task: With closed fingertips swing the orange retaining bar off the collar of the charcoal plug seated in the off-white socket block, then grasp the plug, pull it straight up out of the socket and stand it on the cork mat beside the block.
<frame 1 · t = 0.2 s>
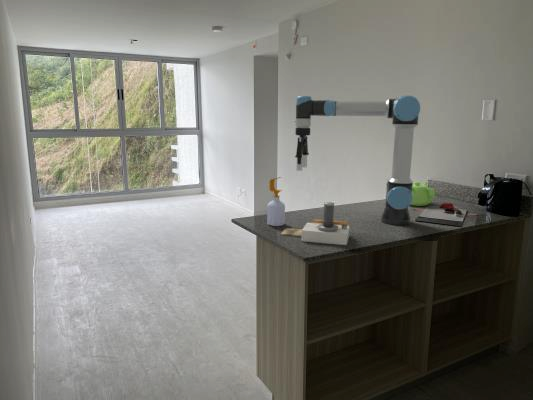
hand: (301, 168, 213), 28 cm above the worktop, fingers open, 13 cm apart
clip: (330, 222, 187), point 7 cm above the worktop, hinge at 0.0°
soap bottle: (275, 224, 212), on the worktop
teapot: (416, 204, 264), on the worktop
plug: (327, 239, 186), resting in socket block
cork mat: (293, 232, 196), on the worktop
socket block: (325, 238, 187), on the worktop
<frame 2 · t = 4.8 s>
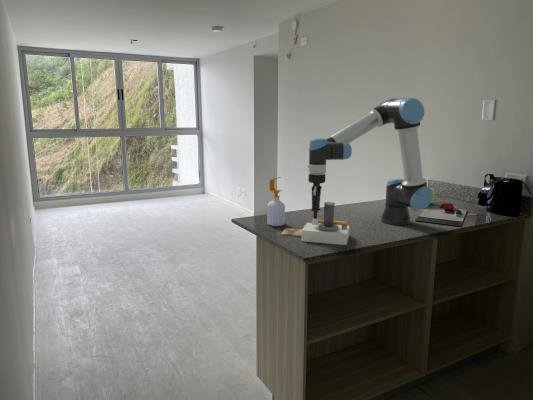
hand: (315, 224, 187), 6 cm above the worktop, fingers closed
nothing on the worktop moved.
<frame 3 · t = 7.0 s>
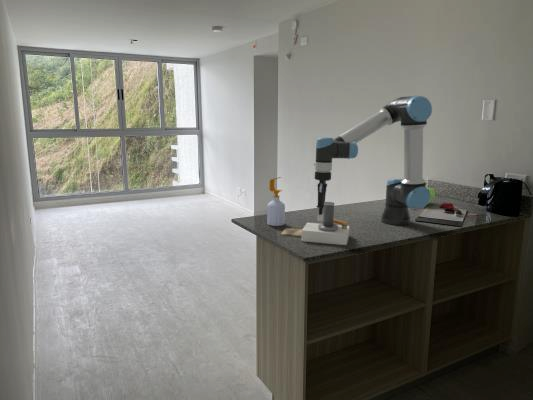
hand: (320, 220, 193), 6 cm above the worktop, fingers closed
clip: (333, 220, 190), point 7 cm above the worktop, hinge at -30.9°, touching gripper
everything else where it was.
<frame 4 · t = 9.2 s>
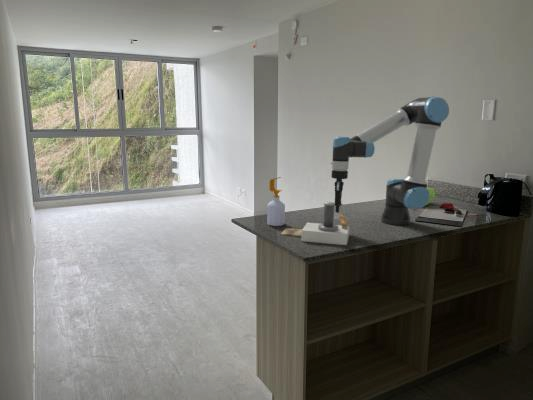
hand: (337, 218, 197), 7 cm above the worktop, fingers closed
clip: (342, 219, 192), point 7 cm above the worktop, hinge at -78.2°, touching gripper
plug: (327, 239, 186), resting in socket block
everything else where it was.
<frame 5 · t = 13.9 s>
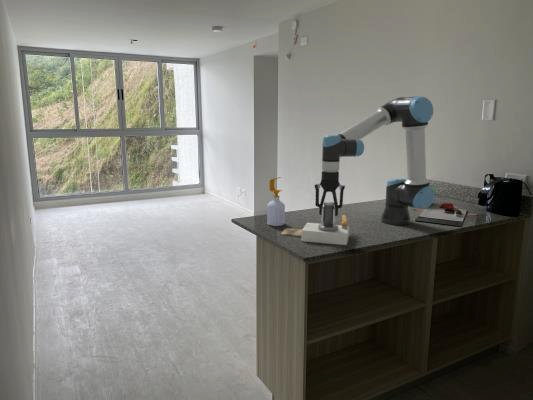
hand: (328, 222, 184), 8 cm above the worktop, fingers closed on plug, 4 cm apart
clip: (344, 220, 192), point 7 cm above the worktop, hinge at -84.0°
plug: (327, 239, 186), resting in socket block, touching gripper
everything else where it was.
when the fingers open (10 cm above the worktop, at t = 20.2 s): plug stays where it is, resting on cork mat.
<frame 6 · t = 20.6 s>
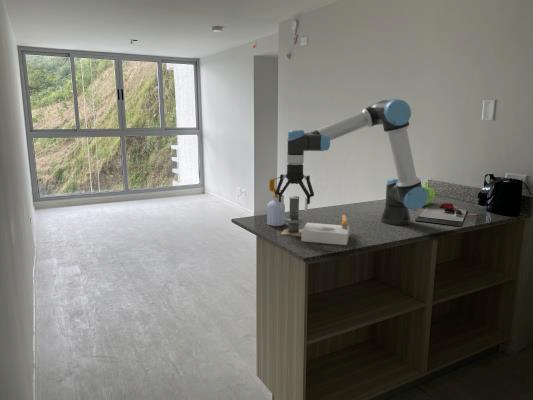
hand: (294, 210, 194), 11 cm above the worktop, fingers open, 11 cm apart
plug: (293, 231, 196), point 1 cm above the worktop, touching cork mat
everything else where it was.
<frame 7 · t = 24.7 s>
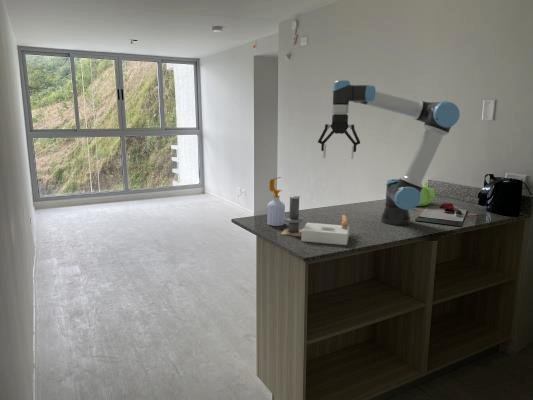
hand: (338, 158, 201), 35 cm above the worktop, fingers open, 13 cm apart
nothing on the worktop moved.
at the end: plug inside the target area (0.1 cm from its centre), point 0.7 cm above the worktop; plug tilted 2°; clip at -84° (first picture: +0°) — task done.
